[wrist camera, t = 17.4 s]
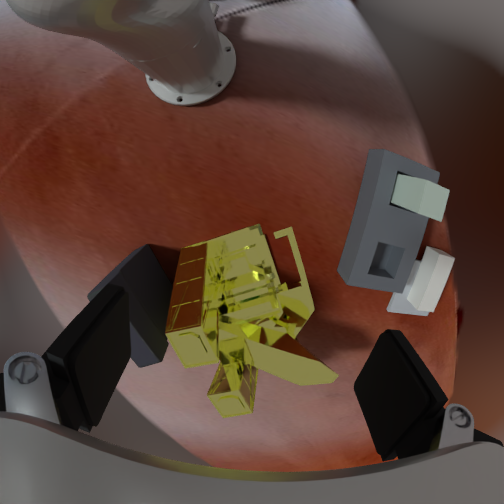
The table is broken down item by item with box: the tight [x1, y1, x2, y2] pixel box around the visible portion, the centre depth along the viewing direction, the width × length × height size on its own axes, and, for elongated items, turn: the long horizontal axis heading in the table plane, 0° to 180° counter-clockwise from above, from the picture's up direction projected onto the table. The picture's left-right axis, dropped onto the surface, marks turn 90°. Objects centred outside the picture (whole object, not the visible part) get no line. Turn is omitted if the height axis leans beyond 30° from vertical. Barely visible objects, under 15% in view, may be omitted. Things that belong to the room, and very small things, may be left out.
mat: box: [387, 259, 429, 316], centre depth 42 cm, size 10×10×1 cm
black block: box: [87, 244, 173, 368], centre depth 34 cm, size 11×4×15 cm, turn 25°
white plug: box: [407, 246, 455, 312], centre depth 39 cm, size 4×4×10 cm
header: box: [337, 149, 440, 294], centre depth 36 cm, size 19×10×5 cm, turn 169°
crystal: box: [165, 224, 339, 418], centre depth 36 cm, size 18×25×16 cm
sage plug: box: [390, 174, 449, 222], centre depth 31 cm, size 4×4×10 cm
